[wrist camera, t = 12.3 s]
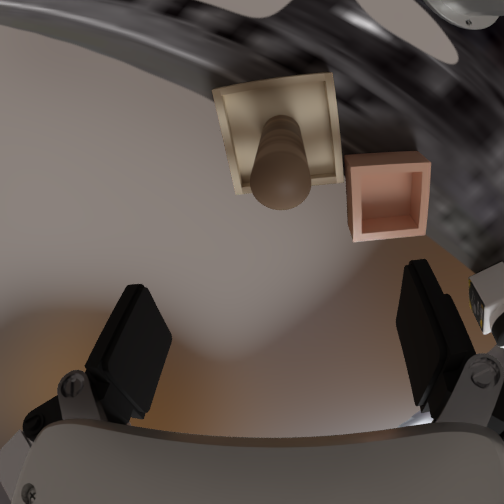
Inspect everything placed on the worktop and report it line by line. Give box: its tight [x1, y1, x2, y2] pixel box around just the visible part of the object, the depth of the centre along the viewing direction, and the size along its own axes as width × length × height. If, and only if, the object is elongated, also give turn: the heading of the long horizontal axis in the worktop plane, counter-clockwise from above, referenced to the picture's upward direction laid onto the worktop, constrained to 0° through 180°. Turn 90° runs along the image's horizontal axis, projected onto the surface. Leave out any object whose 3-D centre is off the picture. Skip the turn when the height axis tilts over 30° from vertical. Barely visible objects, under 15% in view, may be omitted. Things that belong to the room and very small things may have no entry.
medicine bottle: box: [468, 262, 504, 348], centre depth 36 cm, size 7×7×12 cm
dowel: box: [250, 115, 311, 210], centre depth 26 cm, size 4×4×14 cm
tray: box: [212, 72, 344, 195], centre depth 31 cm, size 12×12×2 cm
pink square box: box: [344, 151, 431, 242], centre depth 33 cm, size 9×9×4 cm
